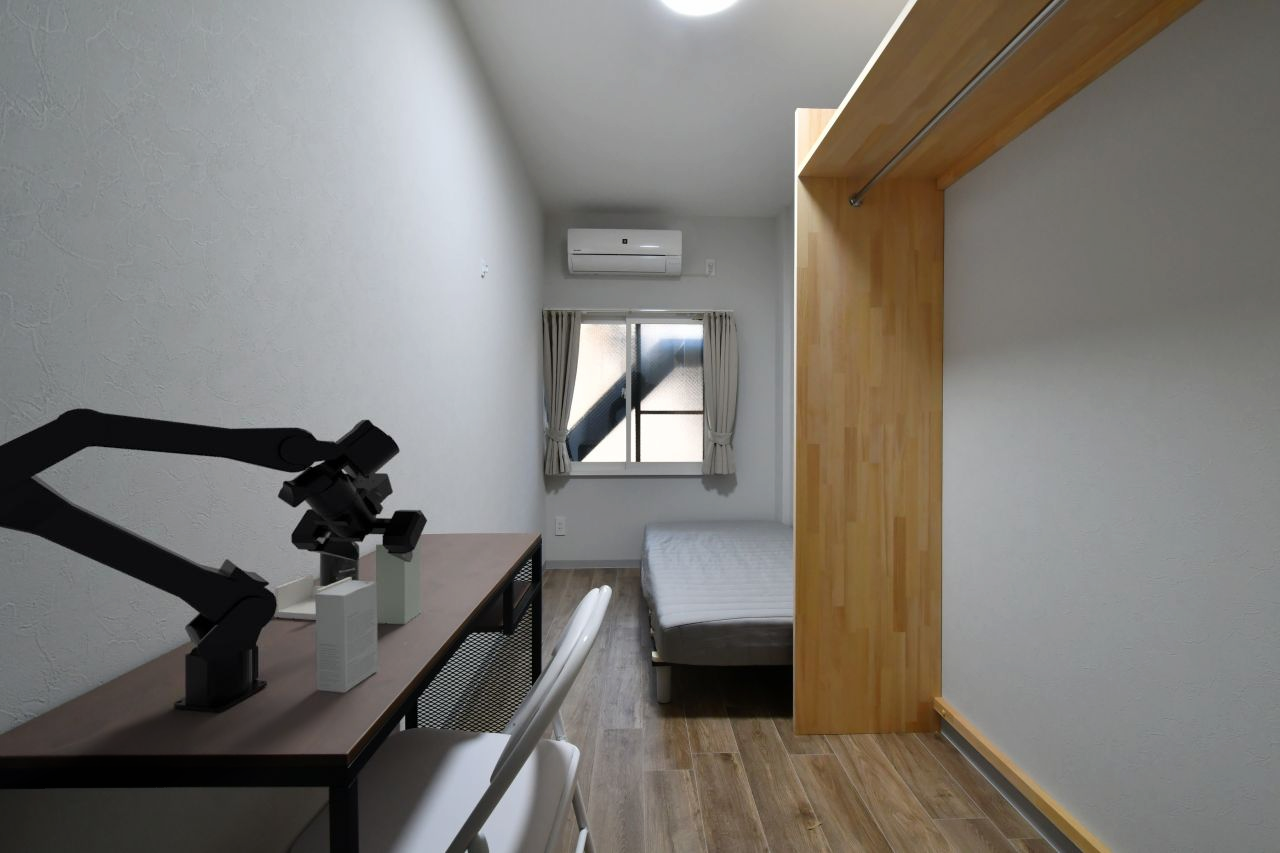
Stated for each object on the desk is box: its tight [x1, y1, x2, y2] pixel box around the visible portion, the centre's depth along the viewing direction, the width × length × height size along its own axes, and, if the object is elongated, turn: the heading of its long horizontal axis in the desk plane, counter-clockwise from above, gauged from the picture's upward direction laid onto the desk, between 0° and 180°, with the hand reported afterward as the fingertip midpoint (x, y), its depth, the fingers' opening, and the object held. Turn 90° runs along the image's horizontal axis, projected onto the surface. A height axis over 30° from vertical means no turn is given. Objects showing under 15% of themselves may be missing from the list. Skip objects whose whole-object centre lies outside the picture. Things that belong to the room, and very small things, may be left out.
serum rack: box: [273, 574, 352, 621], centre depth 92 cm, size 8×17×5 cm, turn 81°
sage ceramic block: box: [375, 538, 422, 625], centre depth 89 cm, size 5×5×13 cm
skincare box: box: [315, 580, 379, 694], centre depth 67 cm, size 6×4×12 cm
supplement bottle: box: [319, 542, 360, 586], centre depth 104 cm, size 7×7×12 cm
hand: (383, 558), depth 84 cm, fingers open, 9 cm apart
